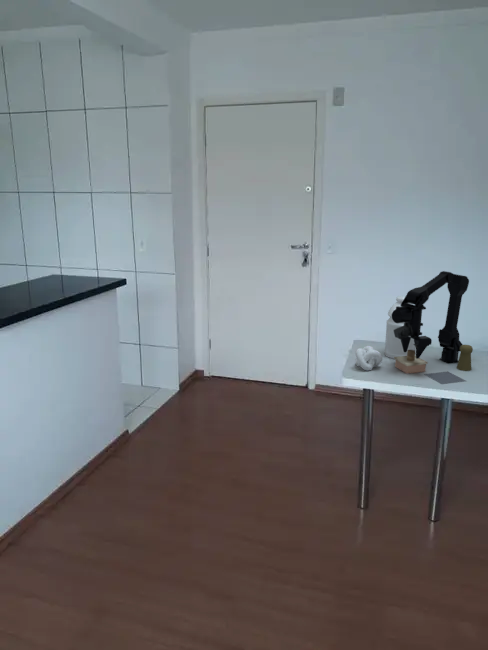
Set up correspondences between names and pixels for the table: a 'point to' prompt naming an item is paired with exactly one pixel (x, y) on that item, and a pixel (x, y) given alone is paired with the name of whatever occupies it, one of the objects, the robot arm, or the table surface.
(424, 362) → the lid
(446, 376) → the mat
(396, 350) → the bottle
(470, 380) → the table surface
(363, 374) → the table surface
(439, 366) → the table surface
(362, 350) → the white decorative knot
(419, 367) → the pink open box
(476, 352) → the table surface
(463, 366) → the olive pestle
